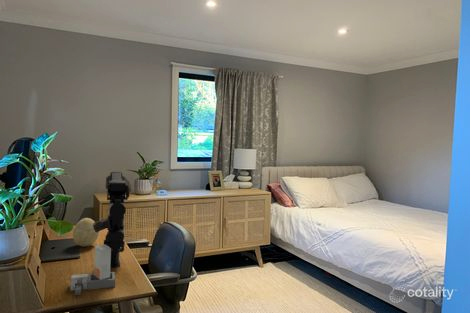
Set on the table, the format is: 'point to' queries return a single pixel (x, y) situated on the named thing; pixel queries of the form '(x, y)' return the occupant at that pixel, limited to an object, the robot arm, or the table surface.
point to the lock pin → (78, 287)
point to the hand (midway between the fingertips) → (114, 251)
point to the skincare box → (102, 261)
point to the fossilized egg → (85, 232)
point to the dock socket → (100, 281)
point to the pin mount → (79, 277)
